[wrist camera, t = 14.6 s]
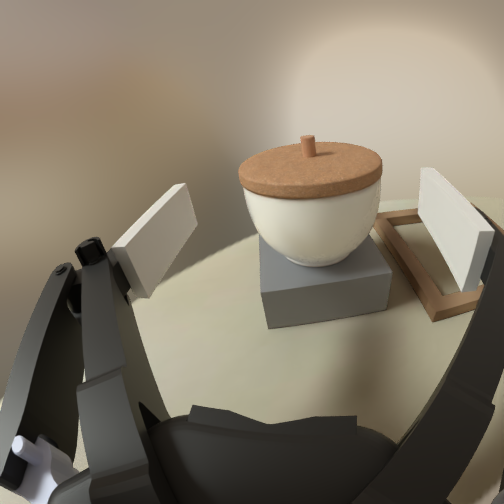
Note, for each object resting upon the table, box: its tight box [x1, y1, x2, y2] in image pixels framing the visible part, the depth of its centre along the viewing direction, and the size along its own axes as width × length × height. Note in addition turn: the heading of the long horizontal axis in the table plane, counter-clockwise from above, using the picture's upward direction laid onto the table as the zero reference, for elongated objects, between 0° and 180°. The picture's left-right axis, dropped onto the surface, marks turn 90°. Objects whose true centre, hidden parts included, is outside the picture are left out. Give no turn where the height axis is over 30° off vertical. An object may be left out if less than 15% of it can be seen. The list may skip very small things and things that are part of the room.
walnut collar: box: [373, 203, 504, 322], centre depth 25 cm, size 17×17×1 cm
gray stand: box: [259, 234, 393, 329], centre depth 25 cm, size 10×10×4 cm
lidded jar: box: [238, 135, 382, 267], centre depth 22 cm, size 11×11×9 cm
